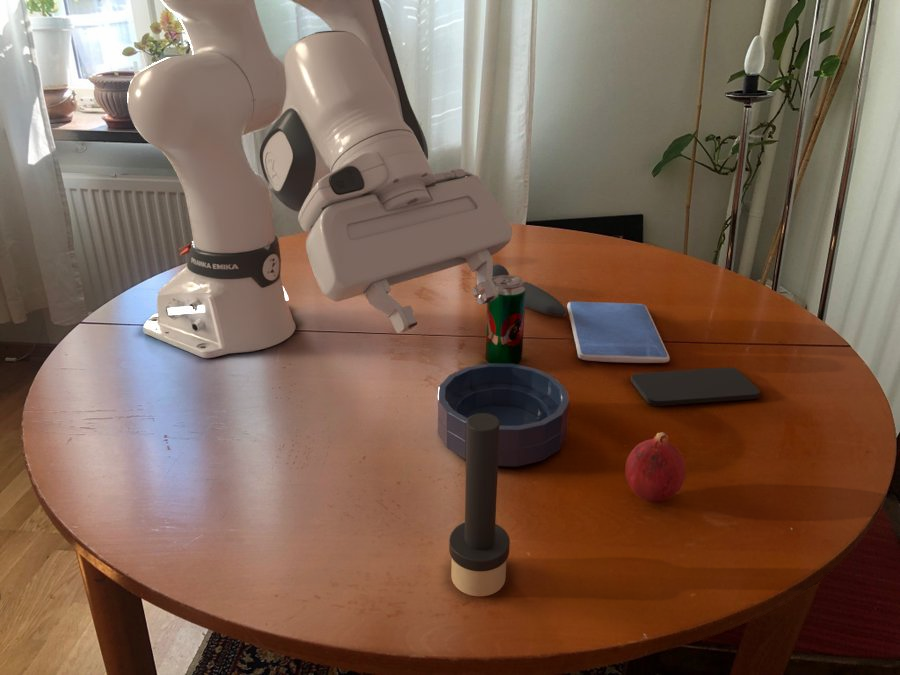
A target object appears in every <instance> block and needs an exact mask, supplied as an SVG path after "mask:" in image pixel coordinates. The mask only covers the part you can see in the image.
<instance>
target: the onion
mask: <svg viewBox="0 0 900 675" xmlns="http://www.w3.org/2000/svg"><path fill="white" fill-rule="evenodd" d="M668 440H669V436H668V434H666V433H665V432H664V431H662V432H657V433H656V435H655V436H654V437H653V438H650V439H647V440H643V441H641V442H640V443H638V444H637V445H636V446H635V447H634V448H633V449H632V450H631V451H630V452H629V454H628V456H627V457H626V462H625V469H624V474H625V479H626V482H627V483H628V486H629V488H630V490H631V491H632V492H633V493H634V494H635V495H636V496H637V497H639V498H640V499H642V500H644V501H647V502H650V503H659V502H662V501H663V502H664V501H667V500H668V499H670V498H672V497H674V496H675V495H677V493H679V492H681V489H682V487H683V485H684V482H685V480H686V475H687V470H686V462H685V459H684V457H683V455H682V453H681V452H680V451H679V450H678V449H677V447H676V446H674V444H673V443H672V442H669V441H668Z"/></svg>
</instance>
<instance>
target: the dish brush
mask: <svg viewBox="0 0 900 675" xmlns="http://www.w3.org/2000/svg"><path fill="white" fill-rule="evenodd" d="M499 426H500V422H499V420H498V418H497V417H495V416H493V415H491V414H486V413H479V414H474V415H472V416H470V417H469V418H468V420H467V435H466V459H465V487H464V488H465V492H464V493H465V495H464V522H462V523H460V524H458V525H457V526H455V528H454V529H453V530H452V531H451V533H450V535H449V540H448V545H449V546H448V550H449V554H450V557H451V564H450V566H451V567H450V568H451V572H450V573H451V580H452V583H453V585H454V587H455V588H456V589H457V590H459V591H460V592H461V593H463V594H466V595H467V596H472V597H487V596H490V595H491V596H492V595H494V594H495V593H497V592H498V591H500V590H501V589H502V588H503V587H504V585H505V583H506V578H507V576H506V575H507V560H508V558H509V555H510V544H511V539H510V536H509V534H508V533H507V531H506V530H505V529H504V528H503V527H502V526H501V525H499V524H497V523H496V518H497V494H498V493H497V492H498V470H499V466H498V449H499Z"/></svg>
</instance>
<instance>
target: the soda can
mask: <svg viewBox="0 0 900 675" xmlns="http://www.w3.org/2000/svg"><path fill="white" fill-rule="evenodd" d="M492 281H493V283H494V285H495V287H496V289H497V291H498V297H497V298H495V299H494V300H493V301H491V302H488V303H486V315H485V317H486V318H485V319H486V320H485V322H486V323H485V351H484V352H485V353H484V355H485V356H484V358H485V361H486V362H487V364H488V363H503V364H517V365H520V363H521V362H522V361H523V350H524V349H523V348H524V331H525V330H524V329H525V315H526V314H525V312H526V311H525V310H526V307H525V295H526V288H525V286H524V285H523V281H524V280H523V278H521V277H519V276H516V275H511V274H509V275H500V276H495V277H493V278H492Z"/></svg>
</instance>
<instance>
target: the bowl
mask: <svg viewBox="0 0 900 675" xmlns="http://www.w3.org/2000/svg"><path fill="white" fill-rule="evenodd" d="M569 412H570V397H569V392H568V390H567V388H566V387H565V386H564V385H563V384H562V383H561V382H560V381H559V380H558V379H557V378H556V377H555V376H553V375H551V374H550V373H546V372H544V371H542V370H540V369H538V368H535V367H531V366H527V365H521V364H518V365H517V364H503V363H488V362H487V363H483V364H477V365H471V366H466V367H464V368H461V369H459V370H457V371H455V372H453V373H451V374H449V375H448V376H447V377H446V378H445V379H444V380H443V381H442V382H441V383H440V385H439V386H438V394H437V435H438V437H439V438H440V439H441V440H440V441H442V443H443V444H444V446H445V447H446V448H447V450H449V451H451V452H453V453H455V454H456V455H458V456H459V457H461V458H462V459H465V460H466V435H467V420H468V418H469V417H470V416H472V415H474V414H479V413H486V414H491V415H493V416H495V417H497V418H498V420H499V422H500V426H499V449H498V467H522V466H527V465H530V464H534V463H535V464H536V463H538V462H539V463H540V462H542V461H544V460H546V459H548V458H549V457H551V456H552V455H554V454H555V453H558V451H560V449H561V448H562V446H563V444H564V442H565V440H566V438H567V434H568V433H567V432H568V422H569Z"/></svg>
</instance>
